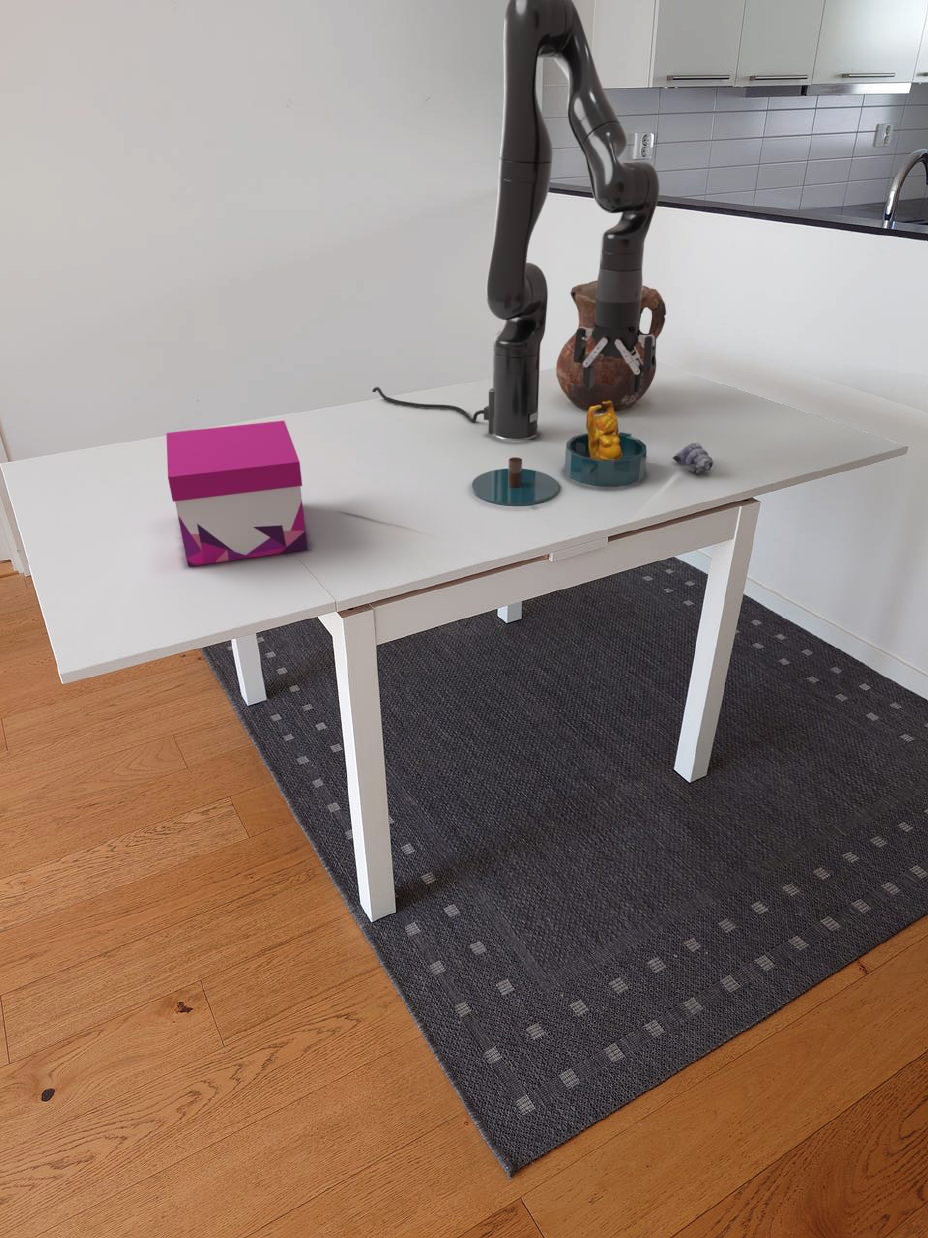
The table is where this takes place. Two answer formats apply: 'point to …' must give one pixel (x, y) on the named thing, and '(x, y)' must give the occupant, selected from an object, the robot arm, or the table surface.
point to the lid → (514, 485)
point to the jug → (609, 371)
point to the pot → (605, 462)
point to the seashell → (694, 458)
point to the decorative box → (236, 492)
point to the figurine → (603, 433)
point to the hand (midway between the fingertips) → (611, 390)
